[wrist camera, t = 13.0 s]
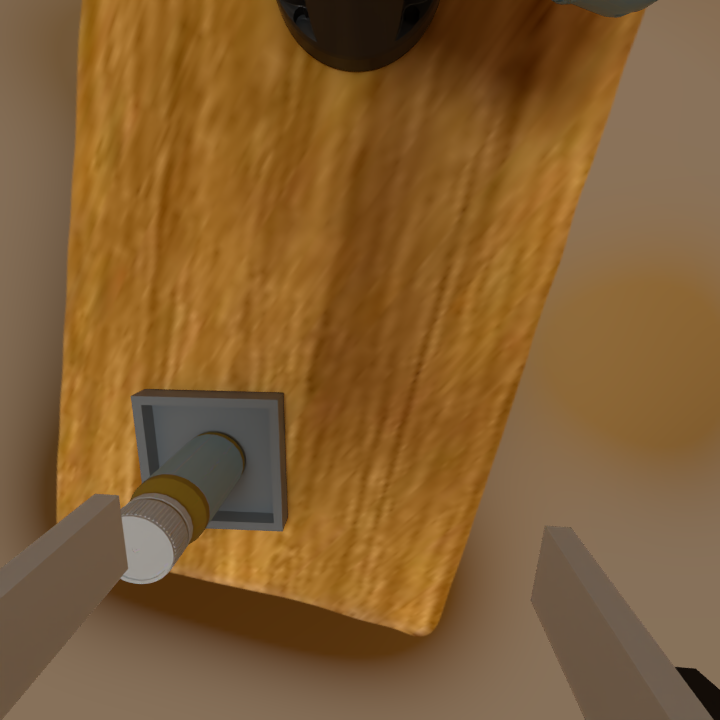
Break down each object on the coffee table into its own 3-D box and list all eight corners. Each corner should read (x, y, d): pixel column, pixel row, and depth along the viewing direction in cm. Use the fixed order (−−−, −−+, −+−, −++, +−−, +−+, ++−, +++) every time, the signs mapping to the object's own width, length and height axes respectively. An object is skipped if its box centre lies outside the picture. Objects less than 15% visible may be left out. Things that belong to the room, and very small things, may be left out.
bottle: (189, 483, 44) (96, 585, 29) (185, 428, 42) (85, 507, 28) (247, 486, 44) (182, 591, 29) (245, 431, 42) (176, 513, 27)
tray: (145, 389, 42) (130, 395, 40) (283, 392, 41) (277, 399, 39) (159, 512, 46) (147, 525, 43) (287, 517, 45) (282, 531, 43)
